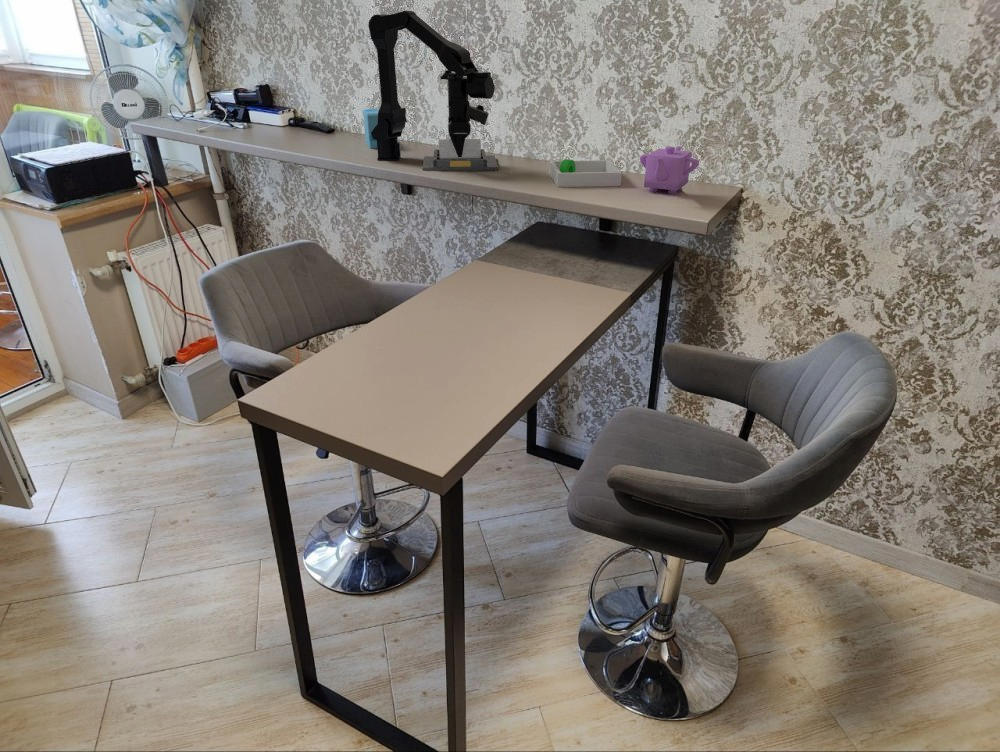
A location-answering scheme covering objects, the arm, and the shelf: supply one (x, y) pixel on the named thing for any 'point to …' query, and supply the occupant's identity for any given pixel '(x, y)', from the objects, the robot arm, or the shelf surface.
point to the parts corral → (586, 174)
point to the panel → (469, 150)
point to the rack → (459, 163)
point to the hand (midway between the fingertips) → (459, 154)
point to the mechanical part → (567, 166)
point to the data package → (370, 126)
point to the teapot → (667, 169)
